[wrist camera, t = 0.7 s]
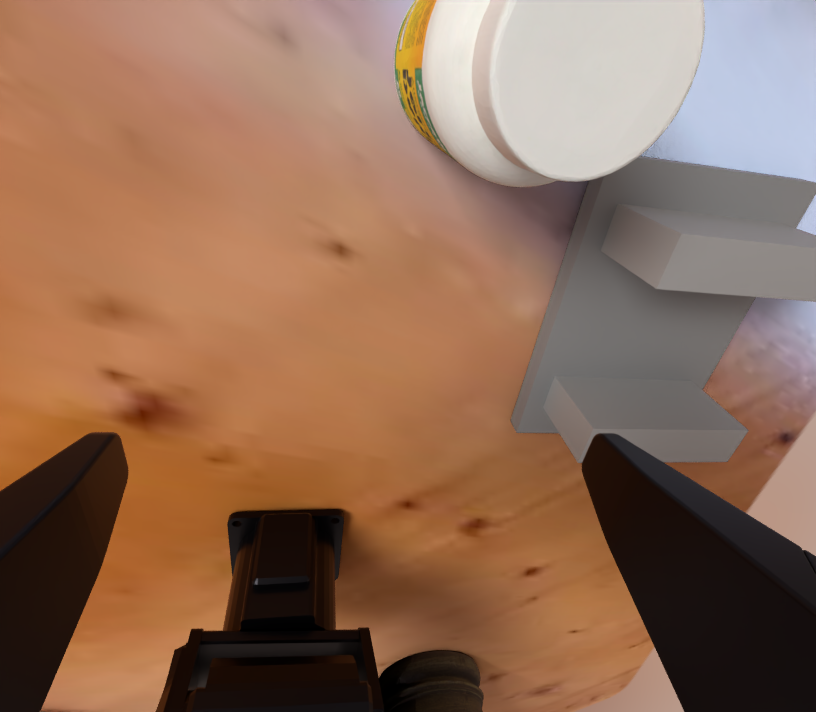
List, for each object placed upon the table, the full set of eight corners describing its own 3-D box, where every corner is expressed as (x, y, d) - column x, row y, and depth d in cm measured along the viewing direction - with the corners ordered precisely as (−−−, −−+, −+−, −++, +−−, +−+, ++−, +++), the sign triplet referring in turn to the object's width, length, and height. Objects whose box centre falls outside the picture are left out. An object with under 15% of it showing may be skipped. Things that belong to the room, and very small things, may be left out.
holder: (666, 422, 28) (726, 486, 23) (510, 420, 26) (546, 490, 21) (801, 179, 20) (923, 208, 16) (598, 149, 18) (678, 175, 14)
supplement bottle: (568, 62, 17) (794, 59, 9) (463, 179, 18) (569, 270, 10) (468, -79, 14) (653, -268, 6) (358, 72, 16) (389, 79, 8)
